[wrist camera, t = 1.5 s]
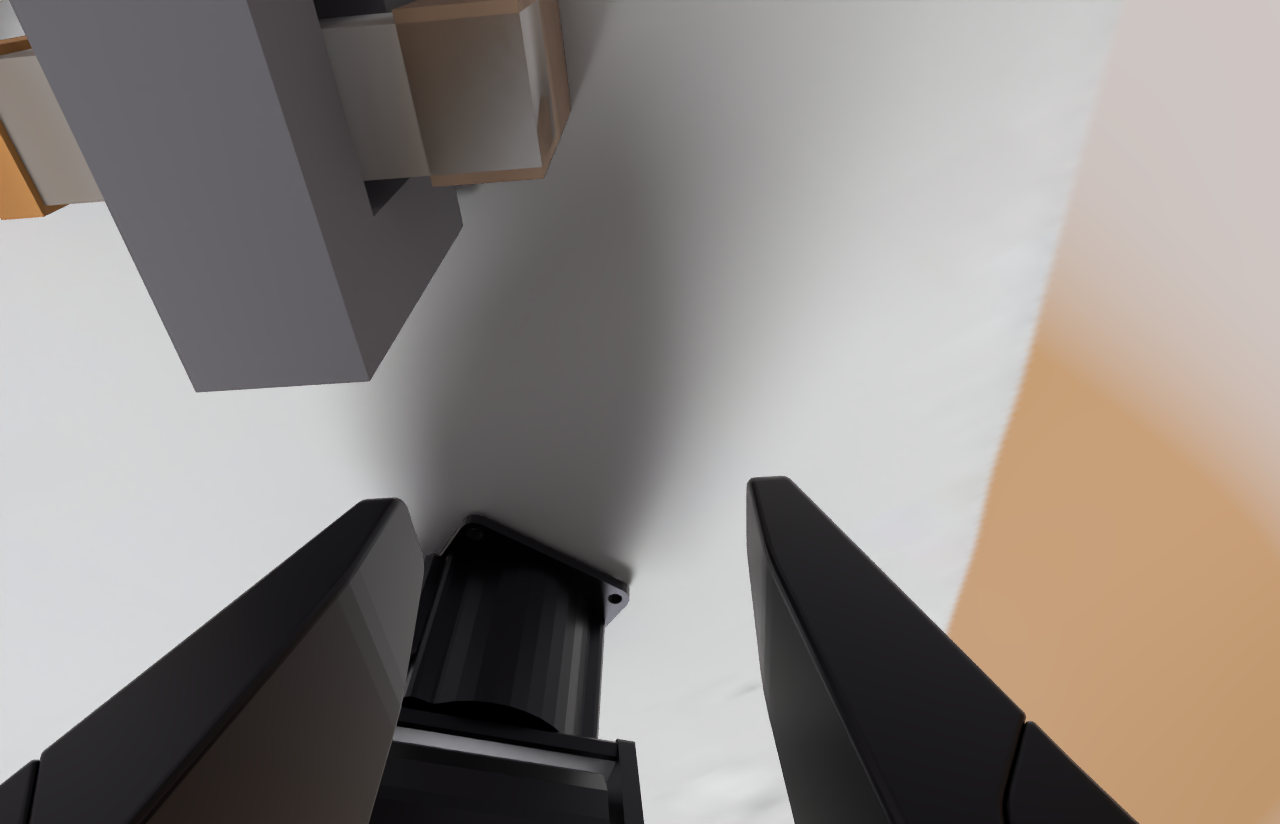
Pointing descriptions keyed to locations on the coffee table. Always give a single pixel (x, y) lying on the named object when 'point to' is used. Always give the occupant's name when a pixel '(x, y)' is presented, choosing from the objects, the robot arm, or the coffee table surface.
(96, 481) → the coffee table surface
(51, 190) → the pipe stand
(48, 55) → the collar
